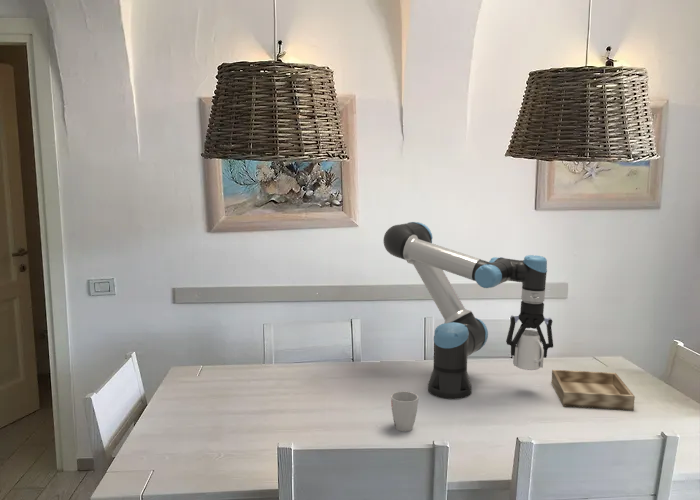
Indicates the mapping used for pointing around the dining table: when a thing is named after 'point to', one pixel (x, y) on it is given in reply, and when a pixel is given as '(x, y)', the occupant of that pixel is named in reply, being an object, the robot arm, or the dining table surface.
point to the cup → (404, 410)
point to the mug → (529, 350)
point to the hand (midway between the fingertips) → (527, 365)
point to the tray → (592, 390)
